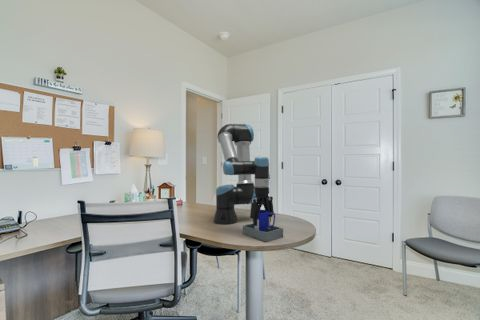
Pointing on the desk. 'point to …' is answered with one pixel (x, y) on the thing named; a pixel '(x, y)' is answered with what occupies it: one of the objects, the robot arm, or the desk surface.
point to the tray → (263, 233)
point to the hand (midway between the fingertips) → (262, 230)
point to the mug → (264, 220)
